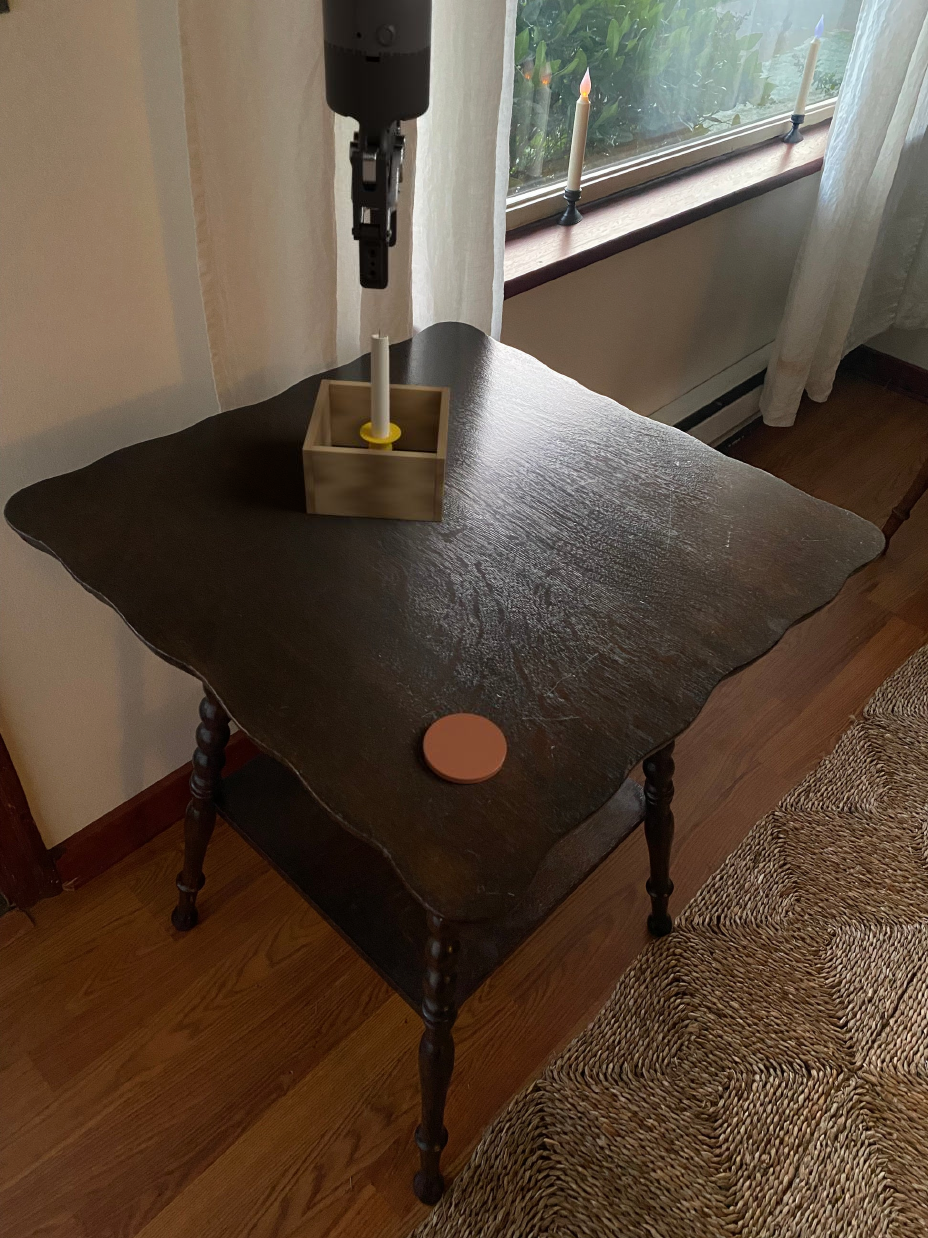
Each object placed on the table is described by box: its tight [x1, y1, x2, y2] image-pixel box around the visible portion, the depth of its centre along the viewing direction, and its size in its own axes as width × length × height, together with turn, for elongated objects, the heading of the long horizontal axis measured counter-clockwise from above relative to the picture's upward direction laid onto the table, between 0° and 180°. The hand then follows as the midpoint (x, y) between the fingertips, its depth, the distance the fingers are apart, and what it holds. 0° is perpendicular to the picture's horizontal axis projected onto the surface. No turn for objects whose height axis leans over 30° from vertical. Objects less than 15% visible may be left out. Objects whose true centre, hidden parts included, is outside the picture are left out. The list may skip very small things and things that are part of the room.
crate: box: [301, 379, 451, 523], centre depth 86 cm, size 13×13×7 cm
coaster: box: [422, 712, 508, 785], centre depth 64 cm, size 6×6×1 cm
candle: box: [360, 329, 401, 451], centre depth 83 cm, size 5×5×16 cm
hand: (379, 265), depth 74 cm, fingers open, 8 cm apart
